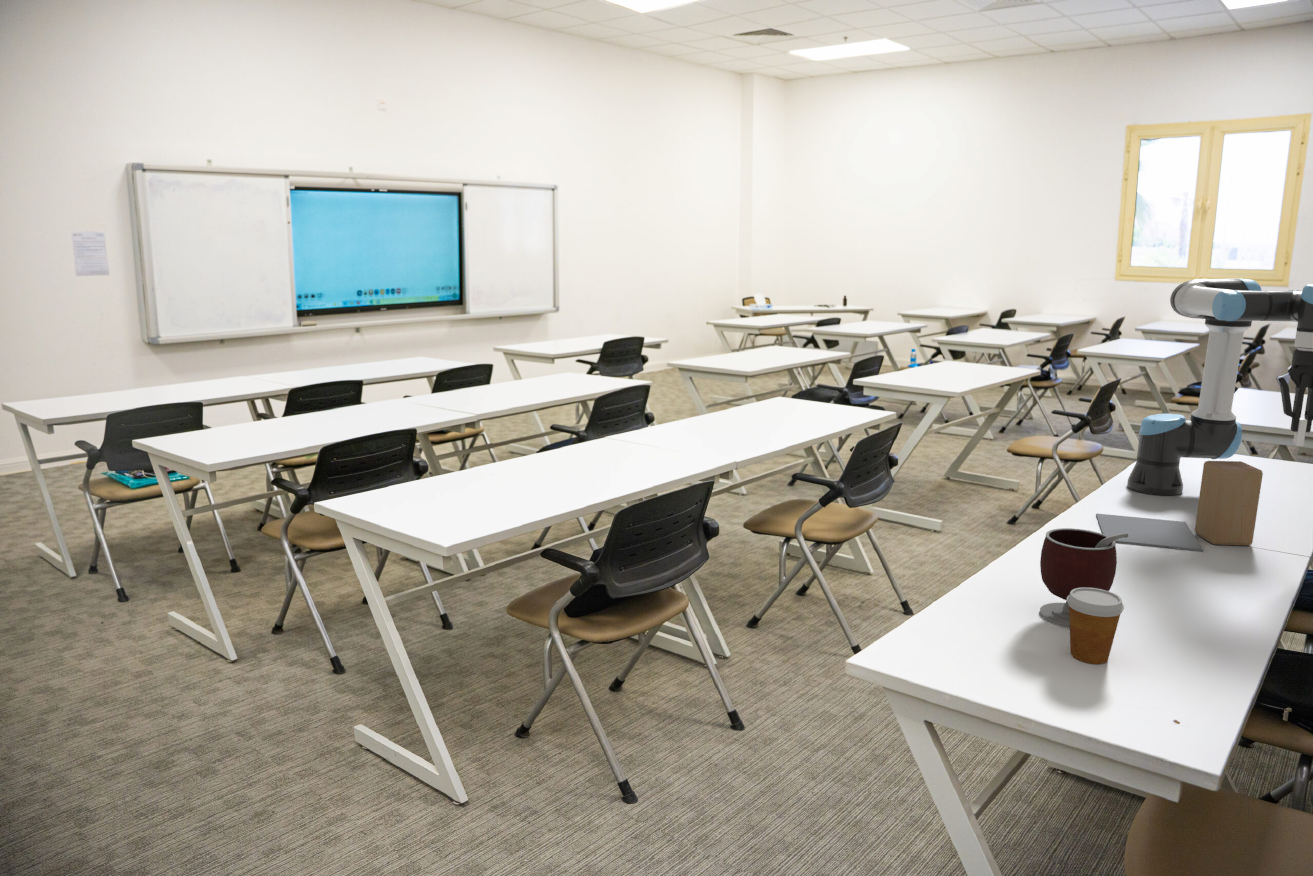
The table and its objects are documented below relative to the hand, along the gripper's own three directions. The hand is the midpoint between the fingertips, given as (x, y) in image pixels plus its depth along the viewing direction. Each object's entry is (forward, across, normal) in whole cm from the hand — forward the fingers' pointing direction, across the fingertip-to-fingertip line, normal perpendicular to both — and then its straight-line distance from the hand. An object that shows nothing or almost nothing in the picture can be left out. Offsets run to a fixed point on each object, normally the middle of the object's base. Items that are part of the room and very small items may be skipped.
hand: (1298, 444), depth 219 cm
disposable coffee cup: (+27, -51, -85) cm, 102 cm away
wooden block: (+27, -13, 0) cm, 30 cm away
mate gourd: (+27, -52, -67) cm, 89 cm away
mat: (+26, -31, 0) cm, 40 cm away
